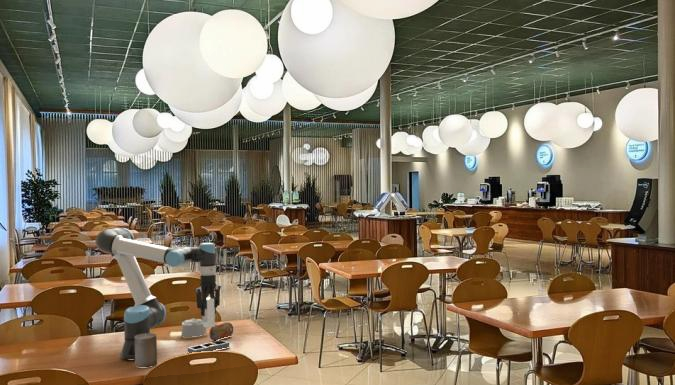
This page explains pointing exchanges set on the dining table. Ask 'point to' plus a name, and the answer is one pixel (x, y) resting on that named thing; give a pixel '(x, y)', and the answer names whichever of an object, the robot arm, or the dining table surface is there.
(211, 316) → the zinc square peg
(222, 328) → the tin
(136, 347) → the pillar candle
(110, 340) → the dining table surface
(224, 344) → the grey compartment tray
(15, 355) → the dining table surface
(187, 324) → the lumpy-topped squat cylinder
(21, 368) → the dining table surface
